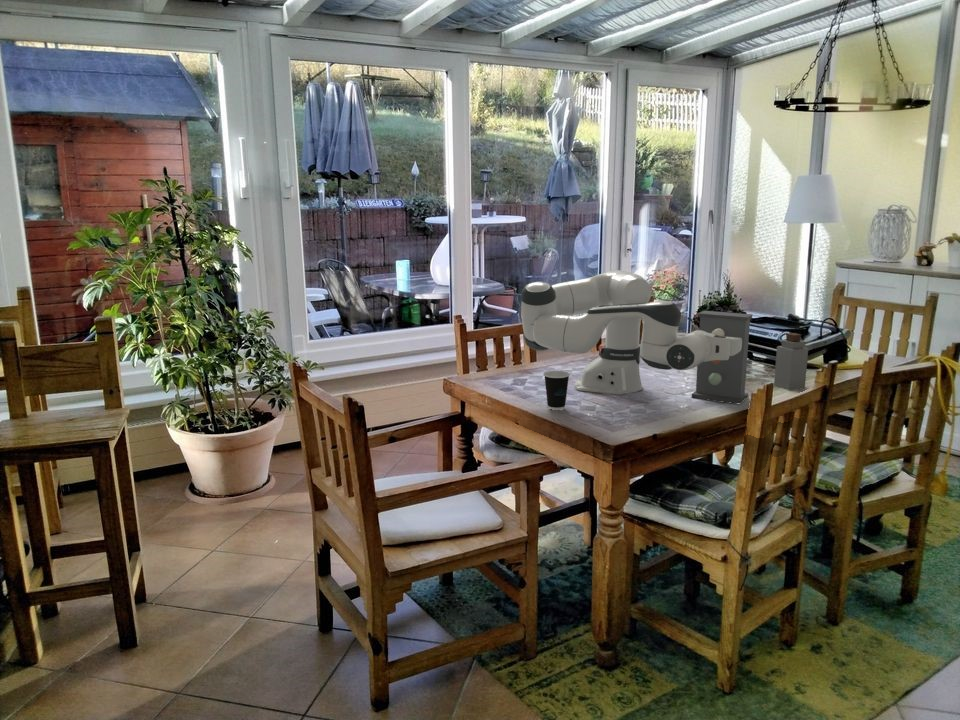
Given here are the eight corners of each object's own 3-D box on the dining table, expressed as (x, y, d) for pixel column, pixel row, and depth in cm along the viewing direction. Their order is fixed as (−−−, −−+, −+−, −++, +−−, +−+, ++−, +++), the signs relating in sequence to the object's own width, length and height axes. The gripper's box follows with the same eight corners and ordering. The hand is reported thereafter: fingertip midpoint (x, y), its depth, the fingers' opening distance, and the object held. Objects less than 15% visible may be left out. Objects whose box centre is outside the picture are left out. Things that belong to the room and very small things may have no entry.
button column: (691, 397, 235) (696, 314, 228) (701, 390, 243) (706, 309, 237) (739, 404, 226) (745, 318, 220) (747, 396, 235) (754, 313, 228)
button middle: (709, 362, 227) (710, 351, 226) (712, 360, 229) (713, 349, 228) (721, 363, 225) (721, 352, 224) (724, 361, 227) (725, 350, 226)
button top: (710, 340, 225) (711, 328, 224) (714, 338, 228) (714, 327, 227) (722, 341, 223) (723, 330, 222) (725, 339, 226) (726, 328, 225)
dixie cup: (561, 413, 219) (561, 378, 217) (538, 409, 224) (538, 374, 221) (574, 407, 226) (574, 372, 223) (551, 403, 230) (552, 369, 228)
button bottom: (708, 384, 228) (708, 373, 227) (711, 382, 231) (711, 371, 230) (719, 385, 226) (720, 374, 225) (722, 383, 229) (723, 372, 228)
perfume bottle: (789, 383, 250) (794, 331, 246) (804, 388, 244) (809, 335, 240) (773, 385, 248) (778, 333, 243) (788, 390, 241) (793, 336, 237)
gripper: (661, 353, 214) (677, 344, 225) (733, 361, 203) (746, 351, 214) (662, 332, 213) (678, 324, 224) (734, 338, 202) (747, 330, 213)
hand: (712, 337), depth 219 cm, fingers closed
